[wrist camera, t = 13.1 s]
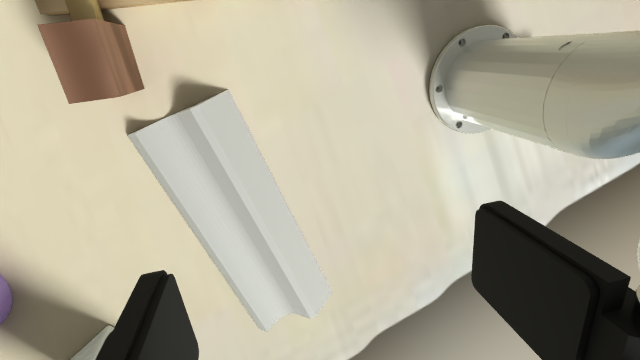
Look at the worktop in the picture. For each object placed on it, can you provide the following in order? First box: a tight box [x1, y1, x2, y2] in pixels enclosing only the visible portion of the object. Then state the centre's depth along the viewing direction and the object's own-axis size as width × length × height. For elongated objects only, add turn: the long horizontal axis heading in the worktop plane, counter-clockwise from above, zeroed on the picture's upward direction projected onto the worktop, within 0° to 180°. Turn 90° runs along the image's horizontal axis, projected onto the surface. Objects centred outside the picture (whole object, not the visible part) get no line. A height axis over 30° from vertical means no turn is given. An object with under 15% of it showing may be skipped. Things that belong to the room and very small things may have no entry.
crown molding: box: [127, 90, 332, 332], centre depth 41 cm, size 31×12×4 cm, turn 23°
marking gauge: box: [38, 0, 144, 104], centre depth 28 cm, size 4×16×7 cm, turn 7°
